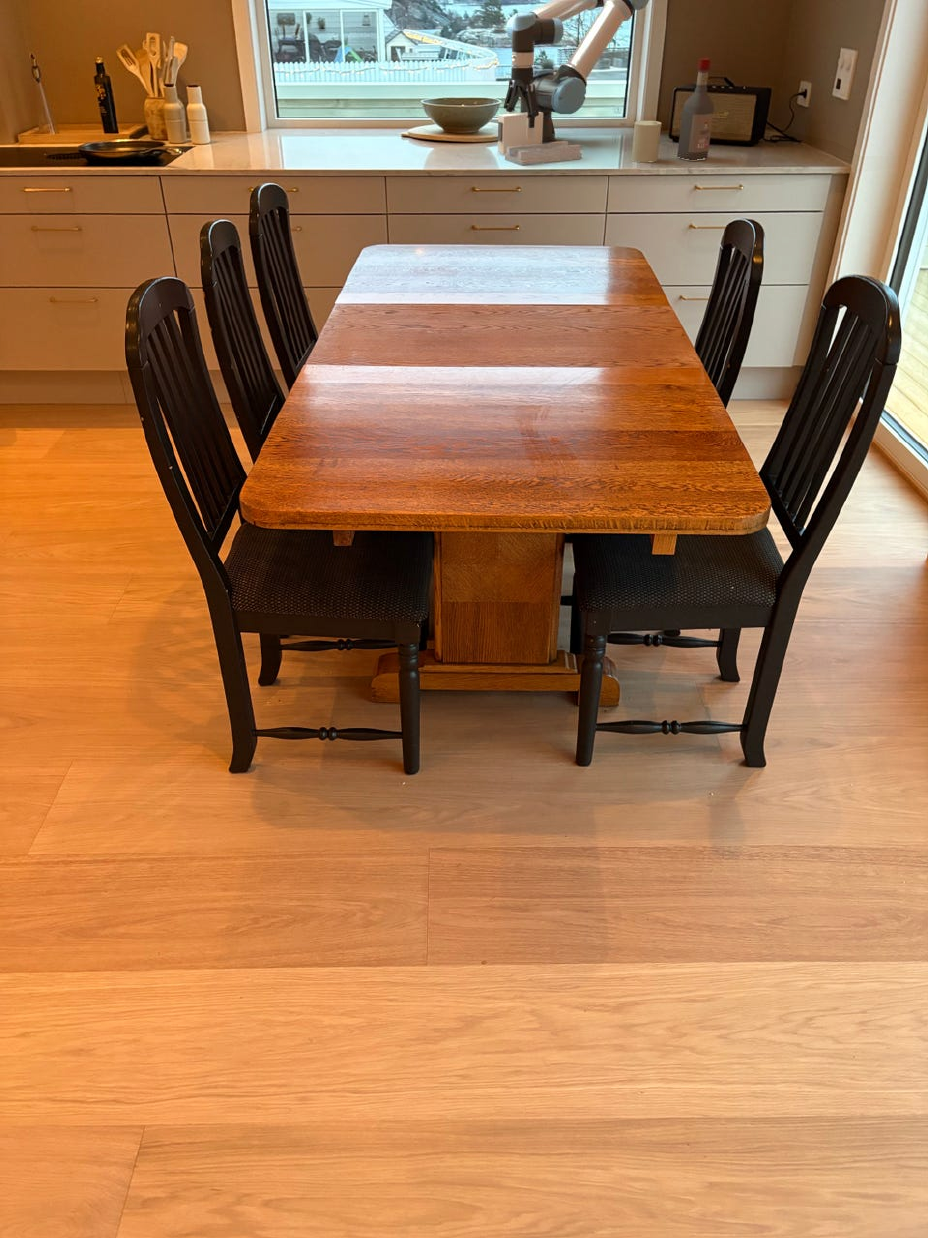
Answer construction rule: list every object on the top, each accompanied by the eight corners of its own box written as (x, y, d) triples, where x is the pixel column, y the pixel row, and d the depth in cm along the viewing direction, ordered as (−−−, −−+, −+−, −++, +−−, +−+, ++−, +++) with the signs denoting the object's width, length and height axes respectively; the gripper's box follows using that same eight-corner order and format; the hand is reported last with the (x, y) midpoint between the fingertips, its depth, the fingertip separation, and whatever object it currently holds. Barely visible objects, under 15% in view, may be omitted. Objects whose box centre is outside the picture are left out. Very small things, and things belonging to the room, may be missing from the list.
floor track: (563, 152, 336) (563, 140, 334) (581, 158, 328) (582, 145, 325) (504, 158, 327) (504, 146, 325) (522, 165, 319) (522, 152, 316)
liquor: (710, 159, 326) (725, 59, 308) (690, 162, 322) (704, 60, 305) (693, 154, 332) (705, 56, 315) (673, 157, 329) (685, 58, 311)
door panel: (536, 148, 343) (537, 111, 336) (541, 149, 340) (543, 112, 333) (496, 152, 337) (496, 114, 330) (501, 154, 334) (502, 116, 327)
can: (651, 163, 321) (655, 124, 314) (626, 160, 325) (630, 121, 318) (661, 158, 327) (666, 120, 320) (637, 156, 331) (641, 117, 324)
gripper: (495, 62, 331) (493, 130, 343) (531, 70, 313) (528, 141, 325) (513, 61, 333) (511, 128, 346) (551, 69, 316) (547, 139, 328)
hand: (520, 134), depth 336 cm, fingers open, 13 cm apart
